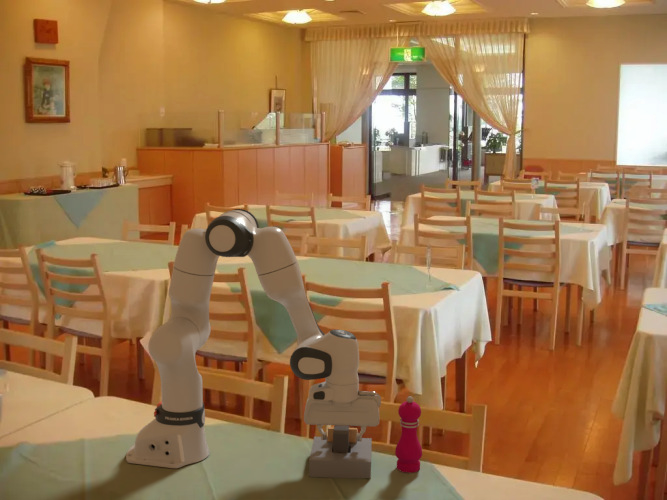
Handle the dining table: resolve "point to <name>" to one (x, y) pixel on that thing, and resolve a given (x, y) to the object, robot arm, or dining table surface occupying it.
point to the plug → (341, 439)
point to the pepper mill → (409, 437)
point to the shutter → (351, 434)
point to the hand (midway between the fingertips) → (341, 440)
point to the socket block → (340, 460)
